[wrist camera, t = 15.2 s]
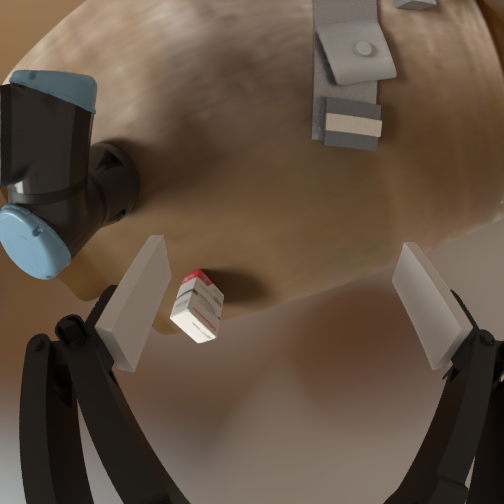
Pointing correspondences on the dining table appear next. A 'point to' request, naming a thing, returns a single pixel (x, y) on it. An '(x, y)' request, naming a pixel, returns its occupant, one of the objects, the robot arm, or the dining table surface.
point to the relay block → (414, 4)
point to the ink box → (198, 307)
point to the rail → (342, 97)
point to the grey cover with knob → (357, 51)
